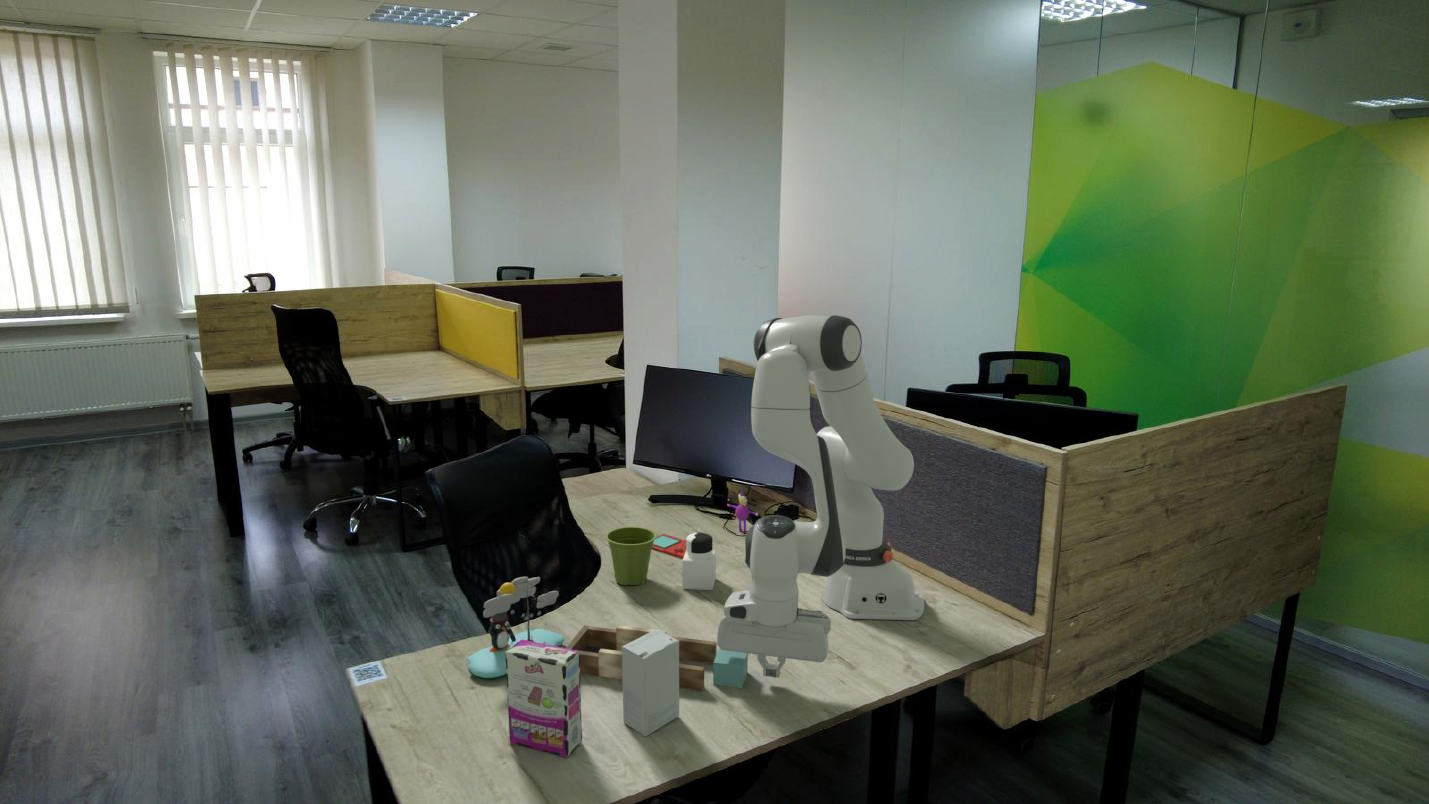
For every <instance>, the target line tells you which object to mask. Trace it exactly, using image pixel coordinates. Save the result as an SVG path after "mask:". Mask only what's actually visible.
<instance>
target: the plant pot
mask: <svg viewBox="0 0 1429 804" xmlns="http://www.w3.org/2000/svg"><path fill="white" fill-rule="evenodd" d="M656 537H657V533H656V532H655V531H653V530H652V529H650V528H646V527H641V526H624V527H617V528H614V529H611V530H609V531H608V532H606V534H605V540H606V541H608V546H609V547H608V548H609V549H610V554H611V558H612V559H611V560H612V565H613V572H614V577H615V581H616V582H617V583H618V584H619V585H622V586H629V585H631V586H638V585H641V584H644V583H645V582H646V581H647V576H648V571H649V564H650V559H651V554H652V550H653V549H652V547H653V543H654V540H655V539H656Z"/></svg>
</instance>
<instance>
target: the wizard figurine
mask: <svg viewBox="0 0 1429 804" xmlns="http://www.w3.org/2000/svg"><path fill="white" fill-rule="evenodd" d="M749 501H750V502H749ZM738 502H739V504H738V505H732V504H730V499H727V504H726V505H727V507H731V508H733V509H735V513H734V514H735V516H736V518H737V520H738V528H739V529H738V531H739V532H742V531H743V533H744V534H746V533H747V531H748V530H747V519H748V518H749V514H751V515H755V516H756V517H757V516H758V517H759V513H758V512H755V511H751V510H749V509H748V506H747V505H750V506H752V507H757V505H758V504H755V503H757V499H753V498H750V497H748V496H745V495H744V492H743V490H741V491H740V493H739V494H738ZM742 522H743V528H742Z"/></svg>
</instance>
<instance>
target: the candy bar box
mask: <svg viewBox="0 0 1429 804" xmlns="http://www.w3.org/2000/svg"><path fill="white" fill-rule="evenodd" d="M505 655H506V673H507V674H506V690H507V691H506V692H507V694H506V695H507V707H508V711H507V712H508V713H507V714H508V731H509V733H508V734H509V743H510V744H513V745H516V746H521V747H525V748H529V749H533V750H536V751H540V752H544V753H548V754H551V755H557V756H561V757H564V758H568V757H570V756H571V755H572V754H573V753H574V751H575V750H576V749H577V748H578V747H579V746H580V745H581V744H582V742H583V729H582V728H583V726H582V724H583V723H582V700H581V699H582V696H581V674H580V659H579V651H577V650H572V649H567V648H566V647H560V646H558V647H557V646H552V645H547V644H542V643H537V642H532V641H527V640H520V641H519V642H518V643H516V644H515V645H514V646H513V647H512V648H510V649H509V650H507V651H506V652H505Z"/></svg>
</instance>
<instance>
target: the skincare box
mask: <svg viewBox="0 0 1429 804" xmlns="http://www.w3.org/2000/svg"><path fill="white" fill-rule="evenodd" d="M659 630H660V629H657V628H656V629H654V630H653V631H652V632H650V633H648V634H646V635H644V636H642V637H640V638H638V639H636V640H634V641H632V642H630V643H628V644H626V645H624V646H622V671H623V679H622V704H623V705H622V706H623V707H622V709H623V712H622V713H623V723H624V724H625V725H627V726H628V727H630V728H632V729H633V730H635V731H636V732H638V733H639V734H640V735H642V736H643V737H647V736H649V735H650V734H653V733H655V731H657V730H658V729H660V728H662V727H664V726H665V725H667V724H669V723H671V722H672V721H673V720H675V719H677V718H679V717H680V687H679V664H680V659H679V640H676V639H675V638H673V637H674V636H673V637H671V636H672V635H669V634H668V633H667V634H665V633H663V632H661V631H659Z"/></svg>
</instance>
